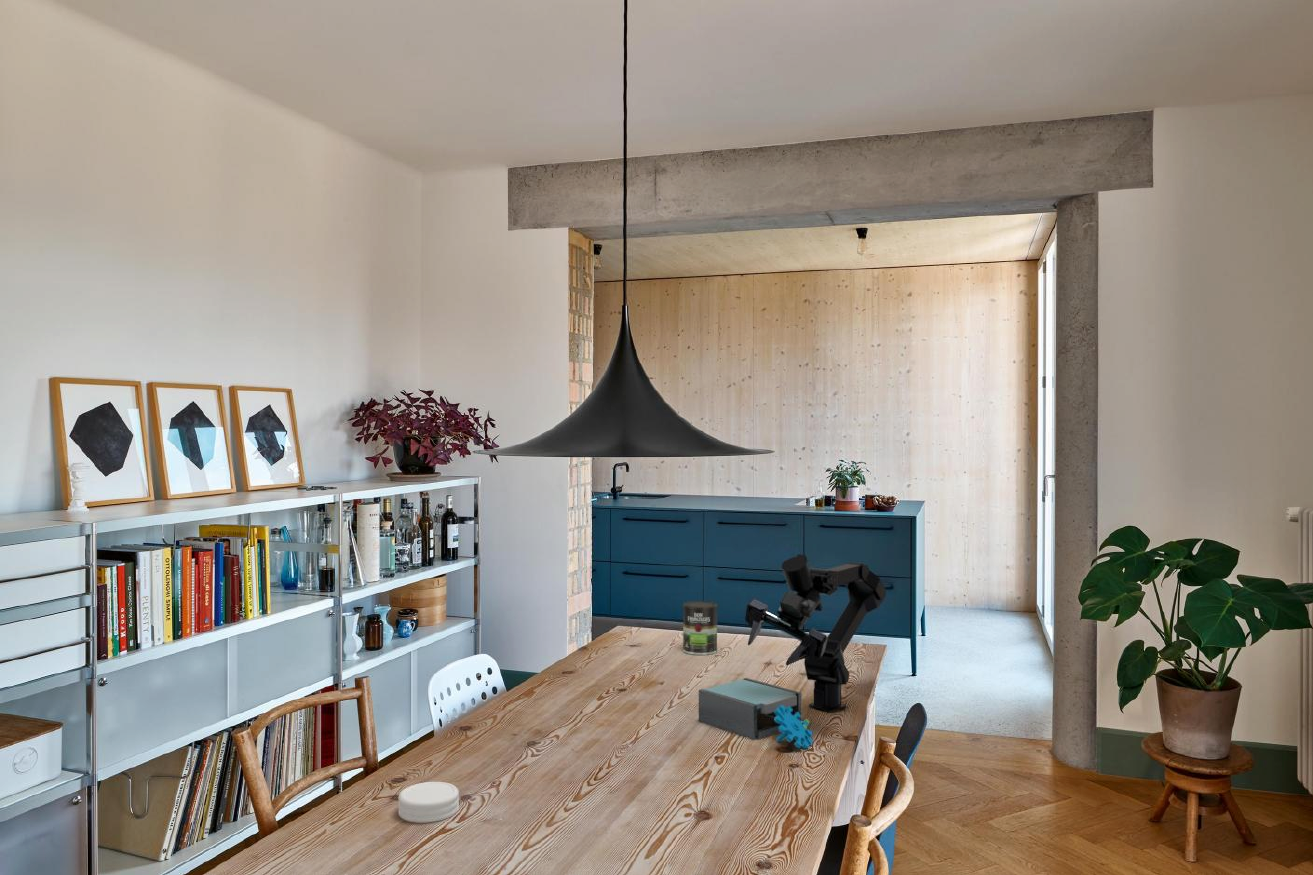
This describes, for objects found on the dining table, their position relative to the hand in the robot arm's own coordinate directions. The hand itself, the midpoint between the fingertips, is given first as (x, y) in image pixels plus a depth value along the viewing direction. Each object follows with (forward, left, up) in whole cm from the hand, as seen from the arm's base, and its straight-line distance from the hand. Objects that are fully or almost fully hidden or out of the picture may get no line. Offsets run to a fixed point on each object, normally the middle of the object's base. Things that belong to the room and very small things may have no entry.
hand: (767, 653), depth 195 cm
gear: (0, +8, -18) cm, 19 cm away
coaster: (+73, -12, -18) cm, 76 cm away
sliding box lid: (-3, -8, -12) cm, 15 cm away
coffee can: (-43, -64, -18) cm, 79 cm away
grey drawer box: (-3, -8, -17) cm, 19 cm away
